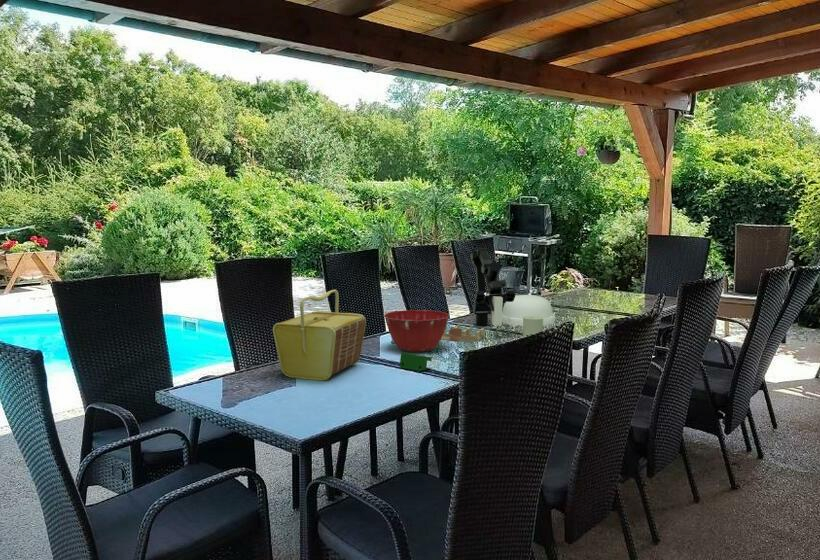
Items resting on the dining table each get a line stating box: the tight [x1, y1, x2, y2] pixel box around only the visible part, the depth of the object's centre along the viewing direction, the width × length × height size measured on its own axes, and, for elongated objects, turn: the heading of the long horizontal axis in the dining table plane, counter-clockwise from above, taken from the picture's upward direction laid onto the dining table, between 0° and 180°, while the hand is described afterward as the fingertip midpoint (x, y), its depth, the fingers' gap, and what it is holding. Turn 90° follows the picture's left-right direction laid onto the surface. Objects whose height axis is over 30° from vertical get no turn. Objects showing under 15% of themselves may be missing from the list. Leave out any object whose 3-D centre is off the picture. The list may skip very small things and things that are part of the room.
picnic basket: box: [272, 289, 367, 381], centre depth 238 cm, size 29×26×30 cm
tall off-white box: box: [491, 296, 503, 326], centre depth 294 cm, size 5×4×13 cm
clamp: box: [399, 352, 433, 372], centre depth 243 cm, size 12×6×9 cm, turn 48°
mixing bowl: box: [383, 309, 450, 353], centre depth 275 cm, size 28×28×16 cm
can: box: [522, 316, 544, 337], centre depth 287 cm, size 9×9×12 cm
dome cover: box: [502, 294, 556, 327], centre depth 340 cm, size 32×30×14 cm
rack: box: [440, 325, 485, 343], centre depth 296 cm, size 13×20×6 cm, turn 67°
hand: (497, 310), depth 293 cm, fingers closed on tall off-white box, 4 cm apart
